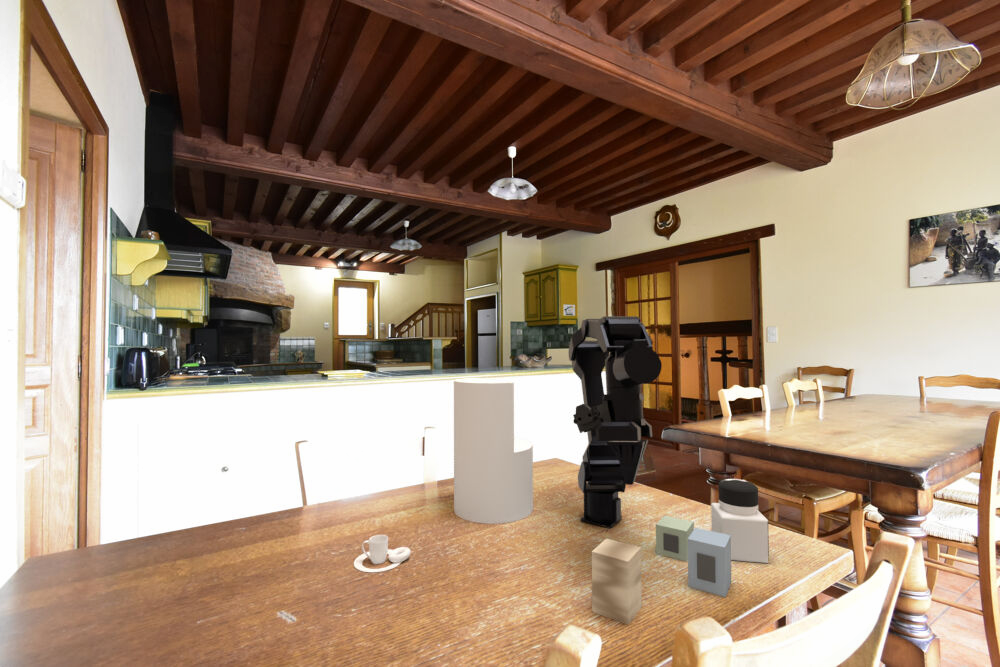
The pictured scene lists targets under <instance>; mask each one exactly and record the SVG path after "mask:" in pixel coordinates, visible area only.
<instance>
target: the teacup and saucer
mask: <svg viewBox="0 0 1000 667" xmlns="http://www.w3.org/2000/svg"><path fill="white" fill-rule="evenodd" d="M365 543H366V544H368V551H366V550H365V547H364V544H365ZM361 550H362V552H363V553H362V554H360V555H358V556H357V557H356V558H355V559H354V561H353V567H354V568H355V570H358V571H360V572H364V573H382V572H387V571H390V570H392V569H394V568H396V567H398V566H399V565H401V564H402V562H403V561H406V560H407V559H409V557H410V556H411V553H412V551H411V549H410V548H409V547H407V546H401V547H397V548H394V549H391V548H389V536H388V535H385V534H376V535H373V536H371V537H369V539H368V540H367V539H366V540H364V541H363V542H362V544H361ZM366 558H368V559H369V560H370V561H371V563H372V564H373V565H380V564H384V563H385V562H386V560H387V559H388V560H389V561H390V562H392V564H390V565H387V566H385V567H381V568H369V567H366V566H364V565H363V561H365V559H366Z"/></svg>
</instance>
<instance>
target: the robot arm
mask: <svg viewBox="0 0 1000 667" xmlns="http://www.w3.org/2000/svg"><path fill="white" fill-rule="evenodd" d="M641 321H642V320H641V319H640V317H639V316H637V315H634V316H629V315H626V316H623V315H619V316H609V315H608V316H602V317H600V318H585V319H583V320H582V322H581V325H580V328H578V330H577V331H575V332H574V333H573V334H572V335H571V337H570V341H569V345H568V360H569V361H570V362H571V367H572V371H573V372H574V373H575V375H576V376H577V377H578V378H579V380H580V382H581V390H582V397H583V400H582V401H583V403H582V404H579V405H578V406H576V407H575V413H574V414H573V415H572V416H573V423H574V424H575V425H576V426H577V428H578V431H579V433H582V434H583V433H587V440H588V443H587V447H585V448H586V449H585V451H584V453H583V455H582V461H581V463H580V467H579V470H578V473H577V484H578V487H579V489H580V491H581V492H582V493H583V516H581V517H580V519H579V520H580V521H581V522H585V523H587V524H588V523H589V524H592V525H596V526H600V527H603V528H604V527H605V528H612V527H613V526H615V525H616V524H617V523H618V522H620V520H622V518H623V517H622V499H621V497H619V493H625V492H626V486H628V485H629V486H632V485H634V483H635V481H636V477H637V474H638V471H639V468H640V465H641V463H642V459H643V457H644V454H645V450H646V448H647V445H648V443H649V440H648V439H642V437H646V438H652V437H653V427H652V425H651V424H650V423H649V422H647V421H646V418H644V410H643V402H644V400H645V398H644V394H643V393H642V385H646V384H650V383H652V382H654V381H656V379H658V377H659V376H660V374H661V371H662V361H661V359H660V357H659V355H658V354H657V352H656V351H655V350H654V347H653V343H654V341H653V339H652V338H651V336H650V335H649V333H648V331H647V329H646V326H645V324H644V323H643V322H641ZM586 338H592V339H595V340H587V339H586ZM604 369H605V370H604ZM603 370H604V371H605V386H606V387H605V388H606V394H605V392H604V386H603V385H604V384H603V377H602V374H603V373H602V372H603Z"/></svg>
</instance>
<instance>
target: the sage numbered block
mask: <svg viewBox="0 0 1000 667" xmlns="http://www.w3.org/2000/svg"><path fill="white" fill-rule="evenodd" d="M694 526H695V522H694V521H692V520H687V519H682V518H678V517H673V516H668V515H663V516H662V517H661V519H660V520H658V521H657V523H655V554H657V555H660V556H664V557H668V558H672V559H675V560H680V561H683V562H688V538H689V536H690V535H691V533H692V532H693V530H694V529H695V528H694Z"/></svg>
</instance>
